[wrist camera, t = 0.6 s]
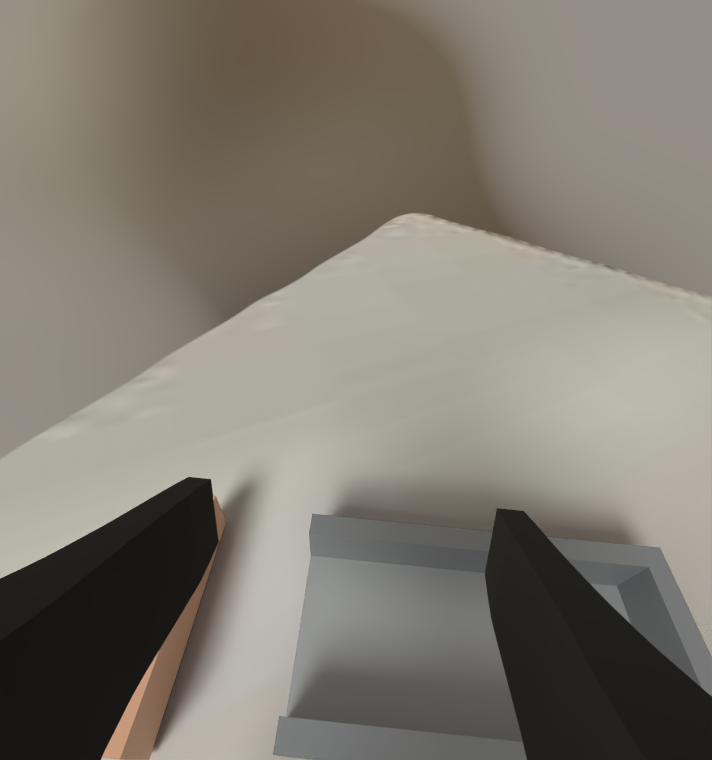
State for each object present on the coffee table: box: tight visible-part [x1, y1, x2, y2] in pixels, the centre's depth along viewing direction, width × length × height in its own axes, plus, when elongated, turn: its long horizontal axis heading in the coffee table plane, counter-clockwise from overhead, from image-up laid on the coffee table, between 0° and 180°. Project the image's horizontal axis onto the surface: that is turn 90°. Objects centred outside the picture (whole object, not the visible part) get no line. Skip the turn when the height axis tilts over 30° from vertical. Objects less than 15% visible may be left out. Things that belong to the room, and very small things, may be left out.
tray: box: [273, 514, 712, 760], centre depth 21 cm, size 10×21×4 cm, turn 86°
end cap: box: [102, 496, 226, 760], centre depth 21 cm, size 12×1×4 cm, turn 176°
